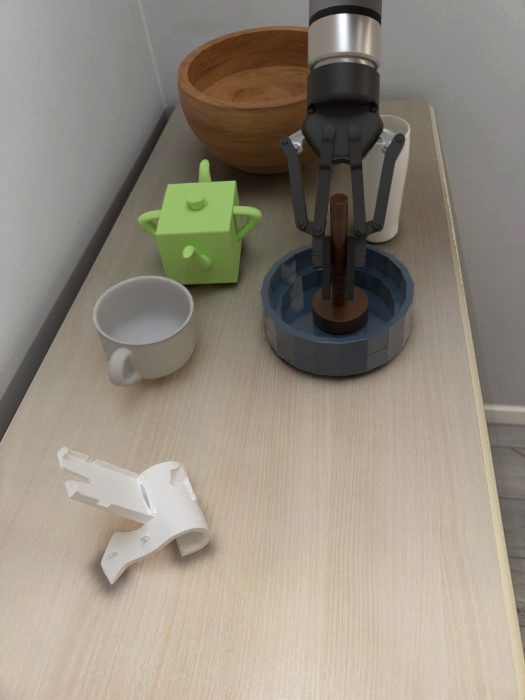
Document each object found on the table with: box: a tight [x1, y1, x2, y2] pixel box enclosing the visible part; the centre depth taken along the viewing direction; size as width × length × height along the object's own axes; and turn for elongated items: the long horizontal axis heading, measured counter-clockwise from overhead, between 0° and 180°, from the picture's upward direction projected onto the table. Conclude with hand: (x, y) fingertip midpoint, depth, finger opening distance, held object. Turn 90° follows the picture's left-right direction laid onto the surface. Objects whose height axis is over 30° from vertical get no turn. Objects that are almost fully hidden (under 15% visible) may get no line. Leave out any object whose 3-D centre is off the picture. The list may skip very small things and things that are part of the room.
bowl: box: [176, 25, 318, 175], centre depth 98 cm, size 25×25×15 cm
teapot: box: [137, 158, 263, 285], centre depth 84 cm, size 15×13×11 cm
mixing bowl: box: [260, 243, 415, 377], centre depth 76 cm, size 17×17×6 cm
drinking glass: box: [362, 114, 411, 244], centre depth 84 cm, size 7×7×15 cm
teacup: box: [91, 275, 197, 388], centre depth 74 cm, size 14×11×8 cm
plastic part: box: [56, 445, 212, 586], centre depth 58 cm, size 8×10×12 cm
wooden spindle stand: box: [312, 192, 368, 334], centre depth 72 cm, size 6×6×16 cm
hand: (338, 299), depth 71 cm, fingers closed on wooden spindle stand, 2 cm apart
